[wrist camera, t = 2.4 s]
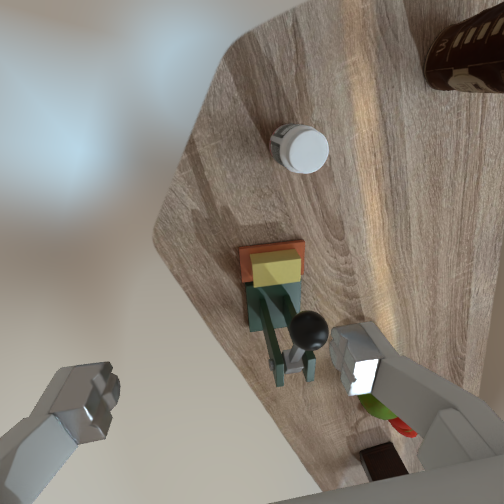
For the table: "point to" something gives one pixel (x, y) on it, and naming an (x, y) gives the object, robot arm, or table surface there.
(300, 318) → the blade lever
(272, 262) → the butter
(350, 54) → the table surface
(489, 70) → the coffee cup
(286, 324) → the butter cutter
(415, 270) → the table surface
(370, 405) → the apple
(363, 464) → the coffee grinder
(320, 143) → the pill bottle
